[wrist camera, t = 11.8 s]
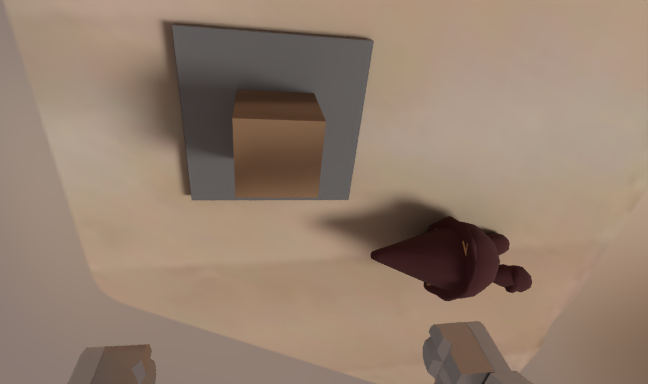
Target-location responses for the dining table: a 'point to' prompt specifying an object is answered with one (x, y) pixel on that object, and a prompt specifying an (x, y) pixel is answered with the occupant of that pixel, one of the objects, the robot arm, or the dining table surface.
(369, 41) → the coaster
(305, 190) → the cube
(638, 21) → the dining table surface
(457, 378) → the robot arm
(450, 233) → the icecream
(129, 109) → the dining table surface
